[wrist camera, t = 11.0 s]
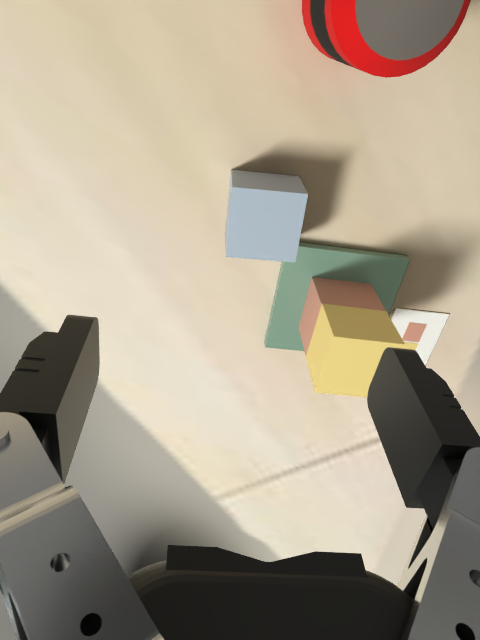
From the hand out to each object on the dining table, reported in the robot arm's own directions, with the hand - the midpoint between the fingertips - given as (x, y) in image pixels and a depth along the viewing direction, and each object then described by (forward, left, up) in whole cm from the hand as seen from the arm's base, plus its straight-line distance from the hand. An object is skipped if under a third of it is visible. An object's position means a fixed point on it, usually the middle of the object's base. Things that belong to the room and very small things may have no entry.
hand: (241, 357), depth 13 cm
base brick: (+15, +13, -29) cm, 35 cm away
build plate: (+15, +13, -30) cm, 36 cm away
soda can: (-10, +8, -30) cm, 33 cm away
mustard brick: (+15, +13, -24) cm, 31 cm away
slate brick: (+6, +4, -30) cm, 31 cm away
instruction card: (+19, +23, -30) cm, 42 cm away
